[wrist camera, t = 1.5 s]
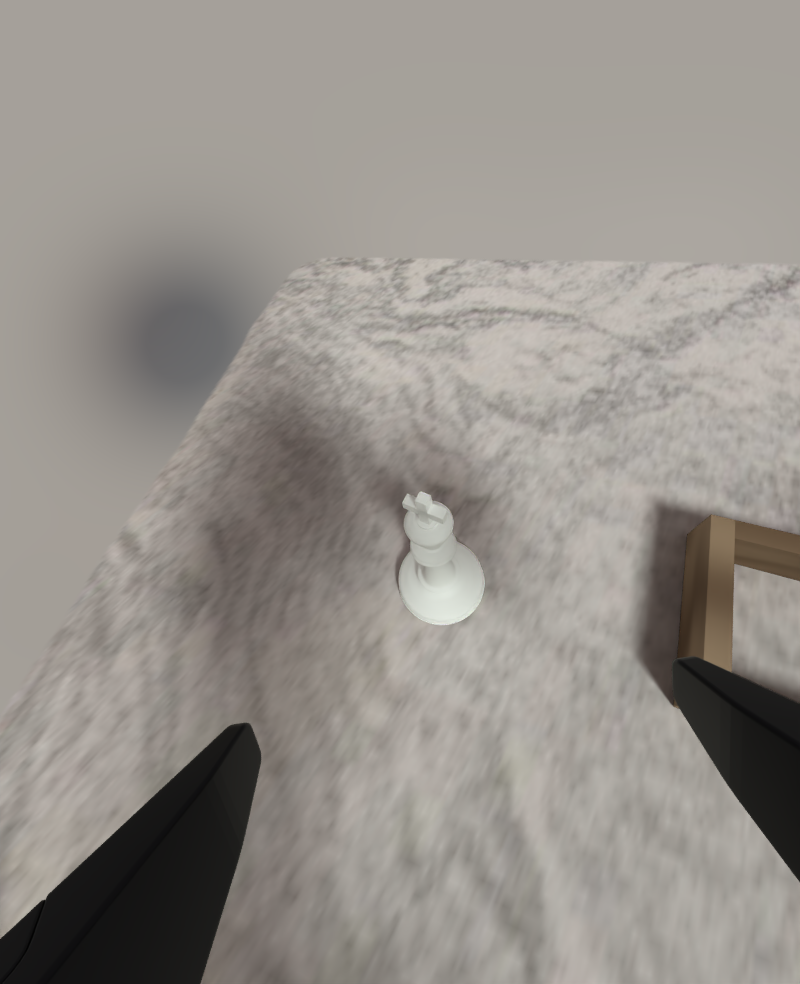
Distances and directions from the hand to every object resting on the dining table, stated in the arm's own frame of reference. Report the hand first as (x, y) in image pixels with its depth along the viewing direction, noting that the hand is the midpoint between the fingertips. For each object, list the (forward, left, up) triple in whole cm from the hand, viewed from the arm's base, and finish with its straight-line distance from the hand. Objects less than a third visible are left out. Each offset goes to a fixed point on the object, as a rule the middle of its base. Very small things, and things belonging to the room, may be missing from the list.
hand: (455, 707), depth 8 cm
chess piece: (+5, -4, -13) cm, 14 cm away
